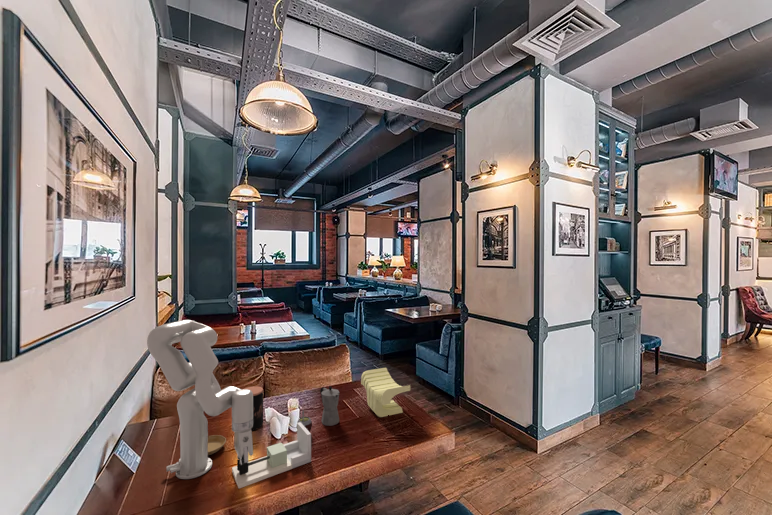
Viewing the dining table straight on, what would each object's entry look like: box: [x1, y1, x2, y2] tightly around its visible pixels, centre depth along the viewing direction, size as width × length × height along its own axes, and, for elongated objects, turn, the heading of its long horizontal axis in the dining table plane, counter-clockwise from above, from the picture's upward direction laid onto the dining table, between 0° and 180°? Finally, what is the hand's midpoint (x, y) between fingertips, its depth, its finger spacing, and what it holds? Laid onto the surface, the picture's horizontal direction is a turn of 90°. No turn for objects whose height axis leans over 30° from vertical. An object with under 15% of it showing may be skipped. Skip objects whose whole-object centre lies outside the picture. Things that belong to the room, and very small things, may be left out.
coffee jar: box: [244, 385, 264, 432], centre depth 167 cm, size 11×11×18 cm
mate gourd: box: [296, 409, 313, 433], centre depth 158 cm, size 8×8×15 cm
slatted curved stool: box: [360, 367, 411, 418], centre depth 185 cm, size 30×16×18 cm, turn 25°
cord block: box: [239, 442, 287, 468], centre depth 134 cm, size 17×7×5 cm, turn 125°
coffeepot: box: [319, 386, 340, 427], centre depth 173 cm, size 15×9×18 cm, turn 44°
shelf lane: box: [231, 422, 312, 489], centre depth 136 cm, size 28×12×12 cm, turn 125°
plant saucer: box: [208, 434, 227, 456], centre depth 147 cm, size 15×15×3 cm
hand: (242, 470), depth 129 cm, fingers closed on cord block, 2 cm apart
